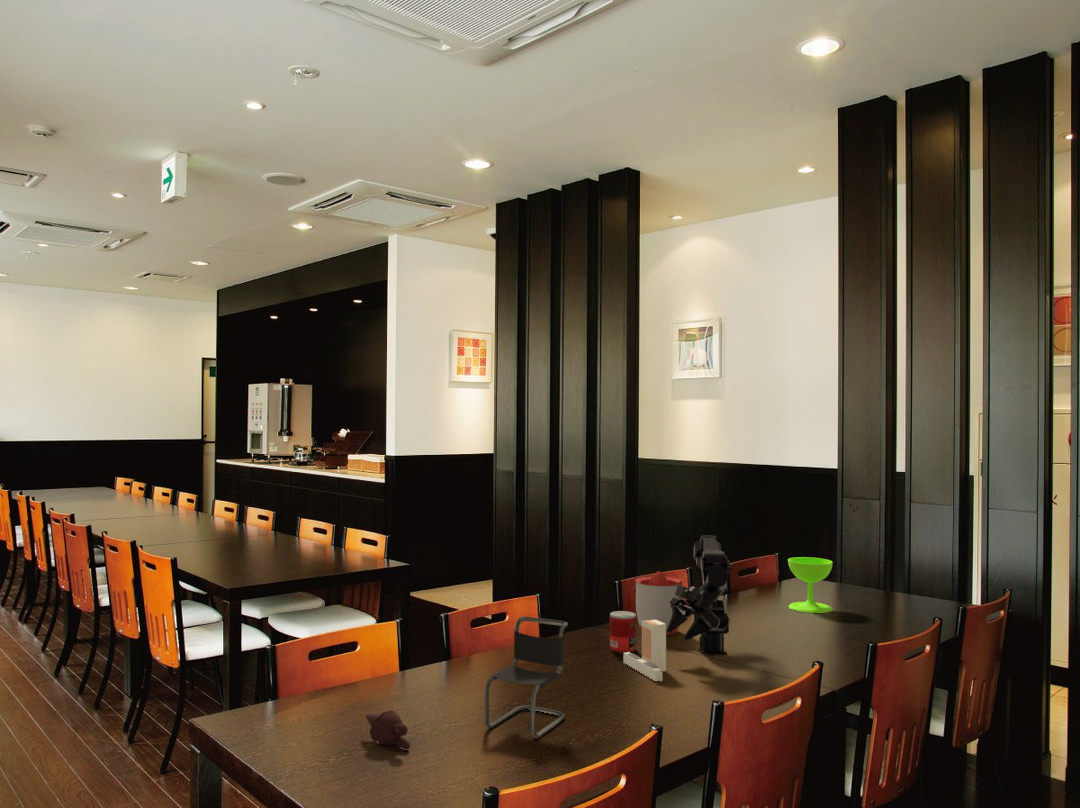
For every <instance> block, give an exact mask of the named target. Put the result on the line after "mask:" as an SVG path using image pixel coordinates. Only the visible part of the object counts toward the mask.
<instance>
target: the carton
mask: <svg viewBox="0 0 1080 808" xmlns="http://www.w3.org/2000/svg"><path fill="white" fill-rule="evenodd" d="M641 658H642V659H643V660H645V661H647V662H649V663H651V664H653V665H655V666H657V667H658V668H660V669H662V671H663V672H666V671H667V636H666V624H665V623H663V622H660V621H658V620H646V621H642V631H641ZM665 670H666V671H665Z"/></svg>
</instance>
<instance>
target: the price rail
mask: <svg viewBox="0 0 1080 808" xmlns="http://www.w3.org/2000/svg"><path fill="white" fill-rule="evenodd" d="M622 657H623V658H622V659H623V664H624V663H625V664H624V665H626V664H627V665H628V667H629V666H630V667H629V668H631V667H632V668H633V670H634V669H635V670H634V671H636V670H637V671H636V672H638V671H639V672H640V674H641V673H642V674H641V675H643V674H644V675H643V676H645V677H646V676H647V678H648V677H649V678H648V679H650V680H651V679H652V681H653V680H654V682H655V681H660V682H663V672H662V669H660V668H658V667H657V666H655V665H653V664H651V663H649V662H647V661H645V660H643V659H642V657H640V656H639V655H636V654H635V653H634V652H633V653H630V652H626V653H623V656H622ZM627 665H626V666H627ZM632 668H631V669H632ZM639 672H638V673H639Z"/></svg>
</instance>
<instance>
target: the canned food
mask: <svg viewBox="0 0 1080 808" xmlns="http://www.w3.org/2000/svg"><path fill="white" fill-rule="evenodd" d="M609 649H610V651H611V650H612V651H611V652H613V651H615V652H614V653H616V652H621V653H620V654H624V653H626V652H633V653H634V651H636V649H637V613H635V612H632V611H627V610H617V611H612V612H610V614H609Z"/></svg>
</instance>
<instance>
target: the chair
mask: <svg viewBox="0 0 1080 808" xmlns="http://www.w3.org/2000/svg"><path fill="white" fill-rule="evenodd" d="M522 622H530V623H537V624H544V625H552V626H559V627H560V628H559V630H558V637H540V636H534V635H529V634H526V633H522V632H520V626H521V623H522ZM568 626H569V624H568V622H567V621H563V620H557V619H556V620H555V619H549V618H548V619H547V618H540V617H533V616H526V615H525V616H520V617H518V618H517V620H516V621H515V624H514V629H513V662H512V663H511V664H510V665H509V666H507V667H505V668H503V669H502V670H499V671H498V672H496V673H494V674H492V675H490V676H489V677H488V679H486V682H485V685H484V692H483V693H484V694H483V695H484V696H483V697H484V698H483V699H484V704H483V705H484V708H483V709H484V711H483V714H484V715H483V716H484V717H483V719H484V720H483V721H484V725H485V727H487V729H493V728H495V727H496V726H498V725H499V724H501V723H503V722H504V721H506V720H507V719H509V718H510V716H511V715H512V716H514V715H515V714H517V713H518V711H519V712H521V711H520V710H522V711H524V710H523V709H528V710H527V711H530V718H529V719H530V723H529V725H530V727H529V728H530V734H531V736H532V738H534V739H539V738H541V737H542V736H544V735H546V733H548V732H549V731H550V730H552V729H553V728H554V727H556V726H557V725H558V724H560V723H561V722H563V721H565V718H566V716H565V714H564V713H563V712H562V711H559V710H555V709H550V708H546V707H545V708H544V707H540V706H536V699H537V693H538V691H539V690H541V689H542V688H544V687H545V686H547V685H549V684H550V683H552V682H554V681H555V680H557V679H558V678H560V676H561V674H562V671H563V668H564V632H565V629H566V628H567V627H568ZM519 660H520V661H524V662H528V663H532V664H533V663H534V664H539V665H544V666H554V667H555V666H557V669H556V672H540V671H534V670H530V669H525V668H521V667H518V666H517V665H518V663H519ZM495 680H502V681H504V682H508V683H514V684H519V685H529V686H530V685H533V686H534V687H533V688H532V690H531V693H530V705H528V704H527V705H526V704H525V705H524V704H523V705H520V706H519V705H518V706H517V707H515V708H513V709H512V710H510V711H508V712H507V713H505V714H503V715H501V716H500V717H498V718H496V719H495V720H494V721H492V722H491V721H490V689H491V688H490V687H491V684H492V682H494V681H495ZM536 711H540V712H539V713H541V712H544V713H543V714H546V713H549V714H548V715H551V714H554V715H553V716H556V715H557V718H556V719H555V720H553V721H552V722H550V723H548V725H546V726H544V727H543V728H542V729H540V730H539V731H537V732H536ZM516 712H517V713H516ZM513 714H514V715H513ZM512 716H511V717H512ZM508 717H509V718H508ZM505 719H506V720H505ZM503 720H504V721H503ZM502 721H503V722H502ZM500 722H501V723H500ZM497 724H498V725H497ZM495 725H496V726H495ZM494 726H495V727H494ZM492 727H493V728H492Z"/></svg>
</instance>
